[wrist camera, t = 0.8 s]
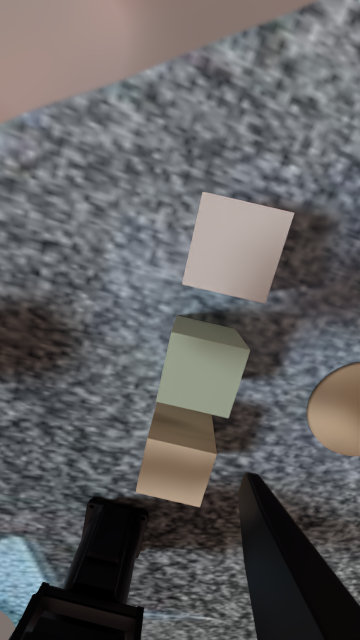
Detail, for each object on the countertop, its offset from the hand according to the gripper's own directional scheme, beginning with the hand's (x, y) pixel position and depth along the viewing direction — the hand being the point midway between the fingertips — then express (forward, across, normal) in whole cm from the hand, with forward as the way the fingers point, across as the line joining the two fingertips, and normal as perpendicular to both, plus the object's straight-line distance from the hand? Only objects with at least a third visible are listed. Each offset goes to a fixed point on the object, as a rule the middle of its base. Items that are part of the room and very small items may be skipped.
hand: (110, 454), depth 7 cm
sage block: (+12, -3, 0) cm, 13 cm away
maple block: (+12, -3, +8) cm, 15 cm away
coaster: (+12, -18, +3) cm, 22 cm away
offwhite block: (+12, -4, -8) cm, 15 cm away
